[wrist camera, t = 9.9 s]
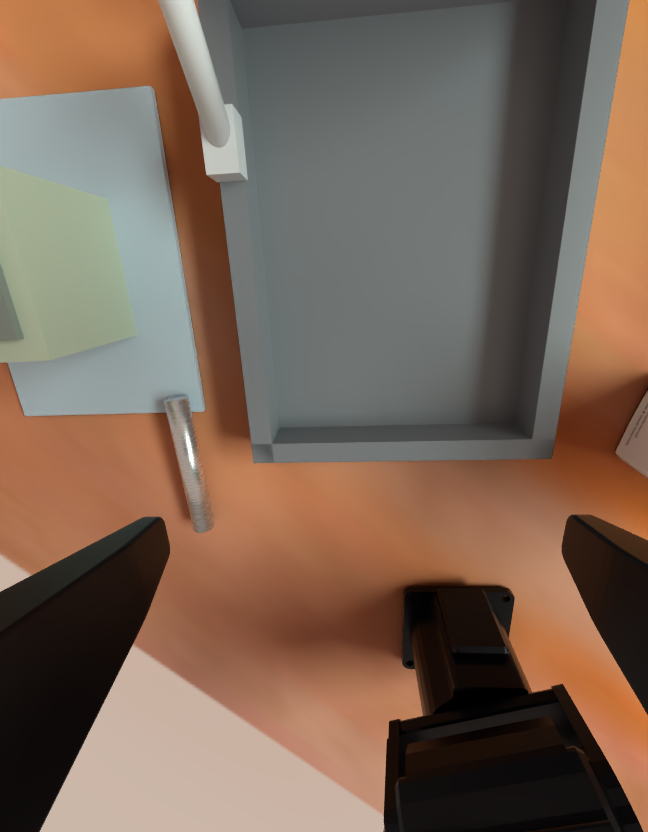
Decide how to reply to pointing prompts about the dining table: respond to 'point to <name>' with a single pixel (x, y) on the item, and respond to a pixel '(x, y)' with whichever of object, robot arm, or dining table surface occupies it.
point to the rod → (189, 461)
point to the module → (57, 271)
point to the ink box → (636, 440)
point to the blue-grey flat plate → (137, 241)
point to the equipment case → (403, 213)
